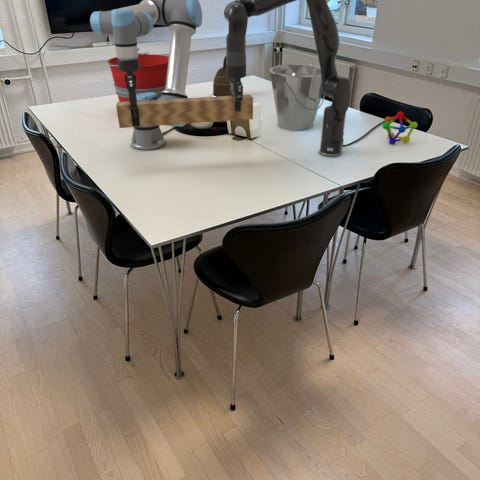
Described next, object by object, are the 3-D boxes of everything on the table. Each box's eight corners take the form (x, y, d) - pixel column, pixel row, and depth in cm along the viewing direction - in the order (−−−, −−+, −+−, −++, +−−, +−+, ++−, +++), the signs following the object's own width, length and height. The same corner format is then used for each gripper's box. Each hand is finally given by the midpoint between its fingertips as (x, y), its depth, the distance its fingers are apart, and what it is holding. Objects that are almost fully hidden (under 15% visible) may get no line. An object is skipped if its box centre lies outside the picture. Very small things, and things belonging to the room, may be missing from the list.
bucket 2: (296, 138, 215) (301, 78, 201) (255, 124, 234) (256, 68, 219) (335, 125, 232) (342, 70, 217) (294, 113, 251) (297, 61, 236)
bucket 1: (122, 105, 263) (114, 51, 248) (180, 106, 263) (177, 52, 247) (105, 123, 234) (95, 63, 218) (171, 124, 233) (166, 64, 217)
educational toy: (377, 146, 209) (379, 114, 202) (384, 138, 219) (386, 107, 211) (411, 149, 202) (415, 116, 195) (417, 141, 212) (420, 109, 204)
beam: (119, 128, 166) (116, 105, 161) (119, 124, 170) (116, 102, 165) (252, 119, 174) (253, 97, 170) (250, 115, 178) (250, 94, 174)
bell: (227, 105, 294) (202, 96, 282) (238, 66, 289) (213, 55, 277) (243, 108, 280) (217, 98, 268) (255, 66, 275) (229, 55, 263)
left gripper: (139, 63, 149) (147, 130, 162) (138, 53, 164) (145, 115, 177) (116, 64, 148) (126, 131, 160) (117, 54, 163) (126, 116, 175)
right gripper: (250, 66, 159) (249, 113, 168) (242, 59, 171) (242, 103, 180) (229, 67, 158) (230, 115, 167) (222, 60, 169) (223, 104, 179)
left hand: (136, 123), depth 168 cm, fingers closed on beam, 5 cm apart
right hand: (236, 108), depth 173 cm, fingers closed on beam, 5 cm apart
